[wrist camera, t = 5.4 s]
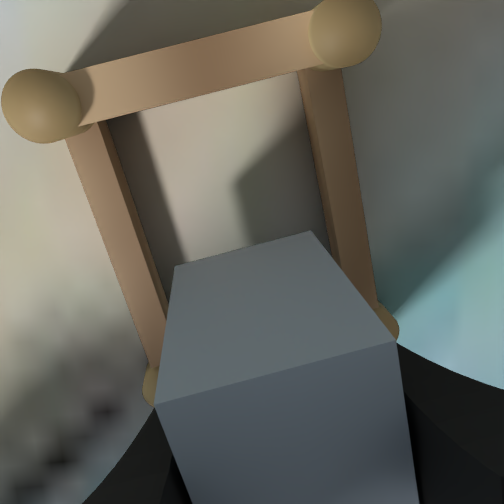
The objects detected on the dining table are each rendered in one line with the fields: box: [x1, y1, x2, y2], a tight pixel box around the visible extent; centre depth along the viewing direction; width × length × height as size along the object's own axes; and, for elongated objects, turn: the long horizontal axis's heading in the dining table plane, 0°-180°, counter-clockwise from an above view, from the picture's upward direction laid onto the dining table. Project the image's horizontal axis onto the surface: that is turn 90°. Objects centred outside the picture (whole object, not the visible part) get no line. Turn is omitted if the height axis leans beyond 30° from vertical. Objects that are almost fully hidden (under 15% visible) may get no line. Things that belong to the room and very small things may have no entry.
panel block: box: [154, 230, 419, 504], centre depth 11 cm, size 4×7×6 cm, turn 14°
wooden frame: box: [1, 0, 399, 407], centre depth 13 cm, size 9×11×4 cm
